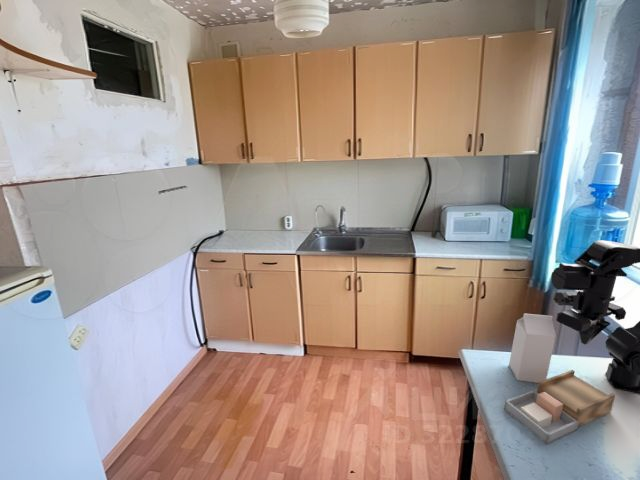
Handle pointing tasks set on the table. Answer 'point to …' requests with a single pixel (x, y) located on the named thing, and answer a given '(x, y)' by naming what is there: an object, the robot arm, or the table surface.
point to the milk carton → (532, 347)
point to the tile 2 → (550, 405)
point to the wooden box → (577, 397)
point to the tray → (545, 433)
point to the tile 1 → (537, 414)
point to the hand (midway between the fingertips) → (584, 343)
